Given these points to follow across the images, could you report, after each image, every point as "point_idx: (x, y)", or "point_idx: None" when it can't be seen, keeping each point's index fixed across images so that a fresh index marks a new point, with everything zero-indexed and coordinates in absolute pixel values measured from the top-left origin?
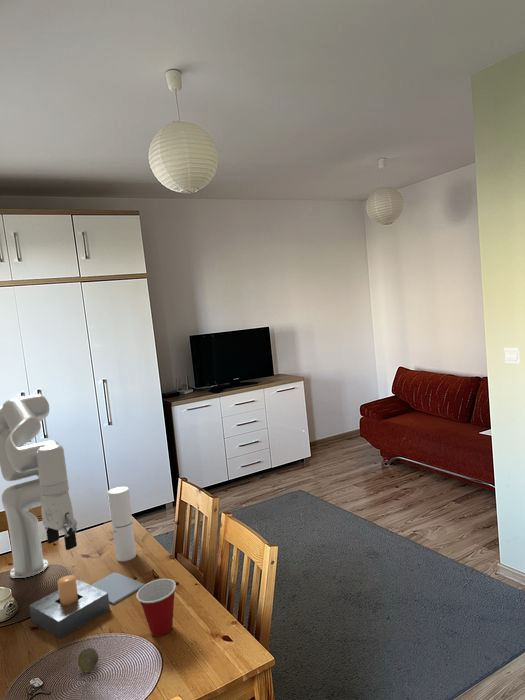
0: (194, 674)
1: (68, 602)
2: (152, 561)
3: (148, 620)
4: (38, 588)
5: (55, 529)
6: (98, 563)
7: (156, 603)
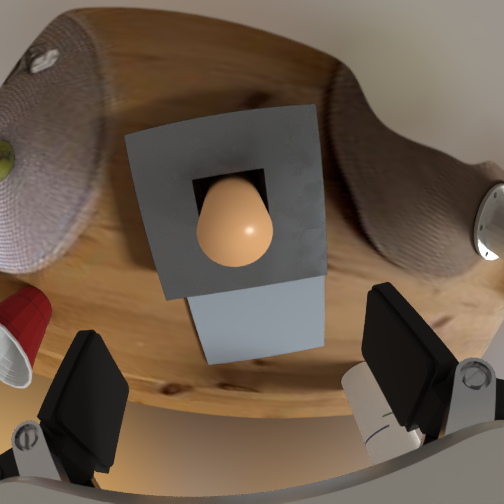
0: None
1: (205, 197)
2: (291, 399)
3: (9, 298)
4: (433, 197)
5: (57, 492)
6: None
7: None
